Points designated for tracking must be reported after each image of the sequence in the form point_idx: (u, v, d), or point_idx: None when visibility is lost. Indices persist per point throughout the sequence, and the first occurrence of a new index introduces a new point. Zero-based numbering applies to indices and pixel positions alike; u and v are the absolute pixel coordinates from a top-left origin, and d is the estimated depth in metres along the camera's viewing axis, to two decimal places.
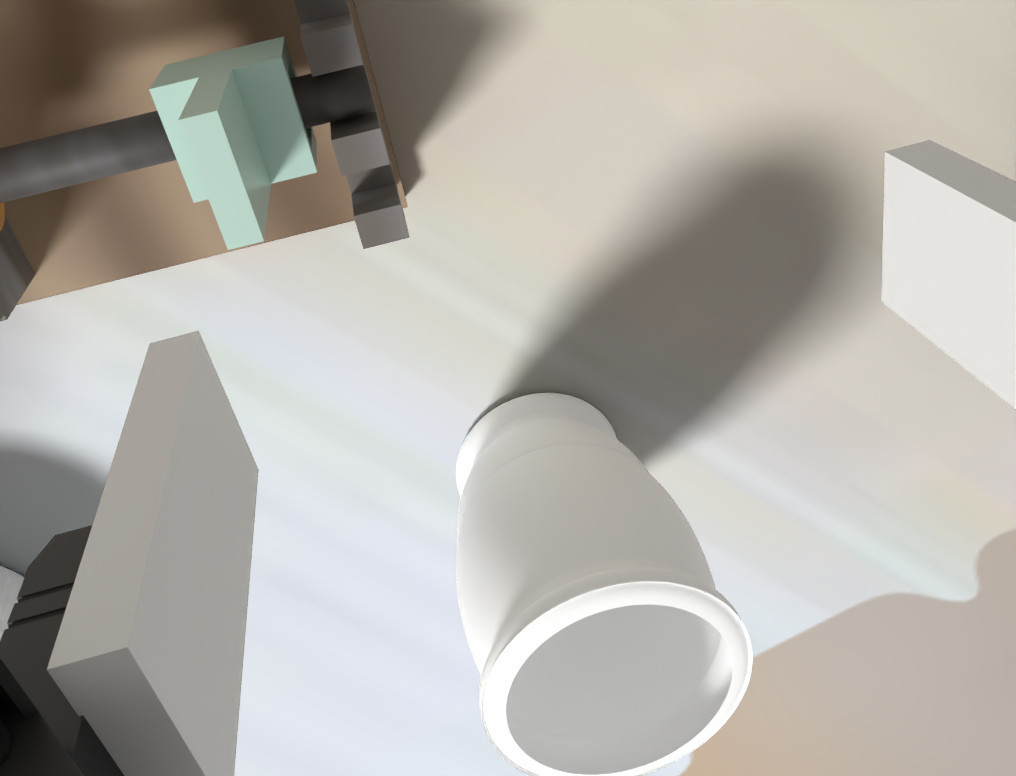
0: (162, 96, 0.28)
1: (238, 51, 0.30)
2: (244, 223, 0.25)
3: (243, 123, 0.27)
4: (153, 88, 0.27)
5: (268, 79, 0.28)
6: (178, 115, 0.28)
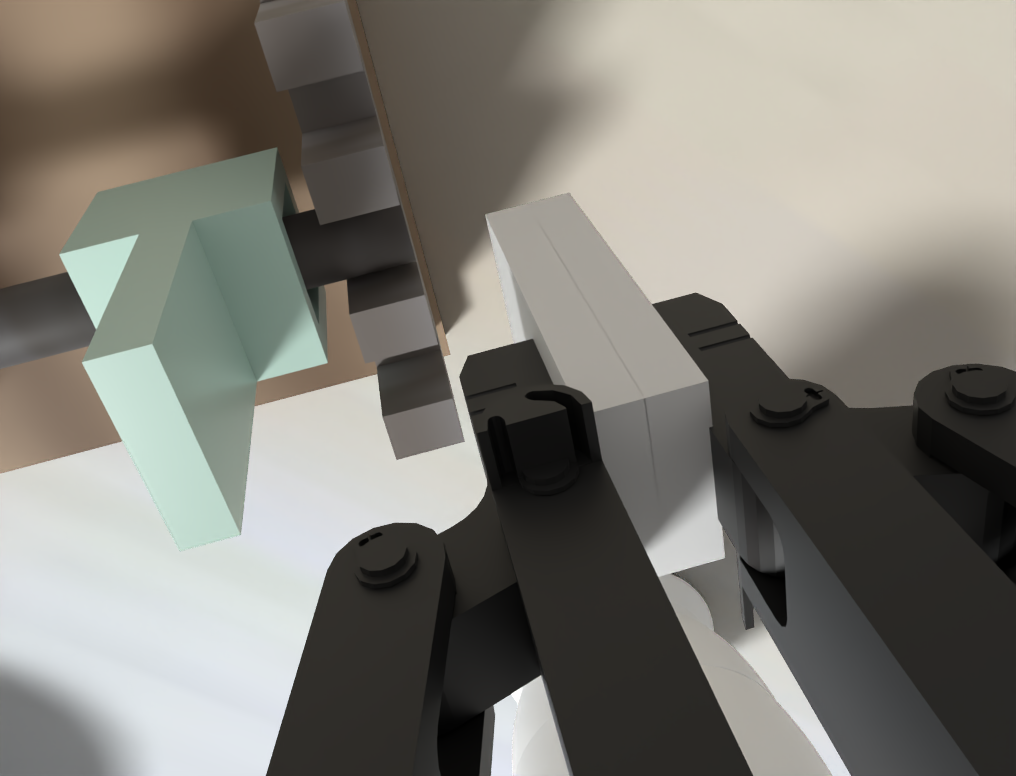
0: (81, 264, 0.17)
1: (206, 175, 0.20)
2: (206, 512, 0.15)
3: (209, 313, 0.17)
4: (66, 252, 0.17)
5: (250, 233, 0.18)
6: (108, 291, 0.18)
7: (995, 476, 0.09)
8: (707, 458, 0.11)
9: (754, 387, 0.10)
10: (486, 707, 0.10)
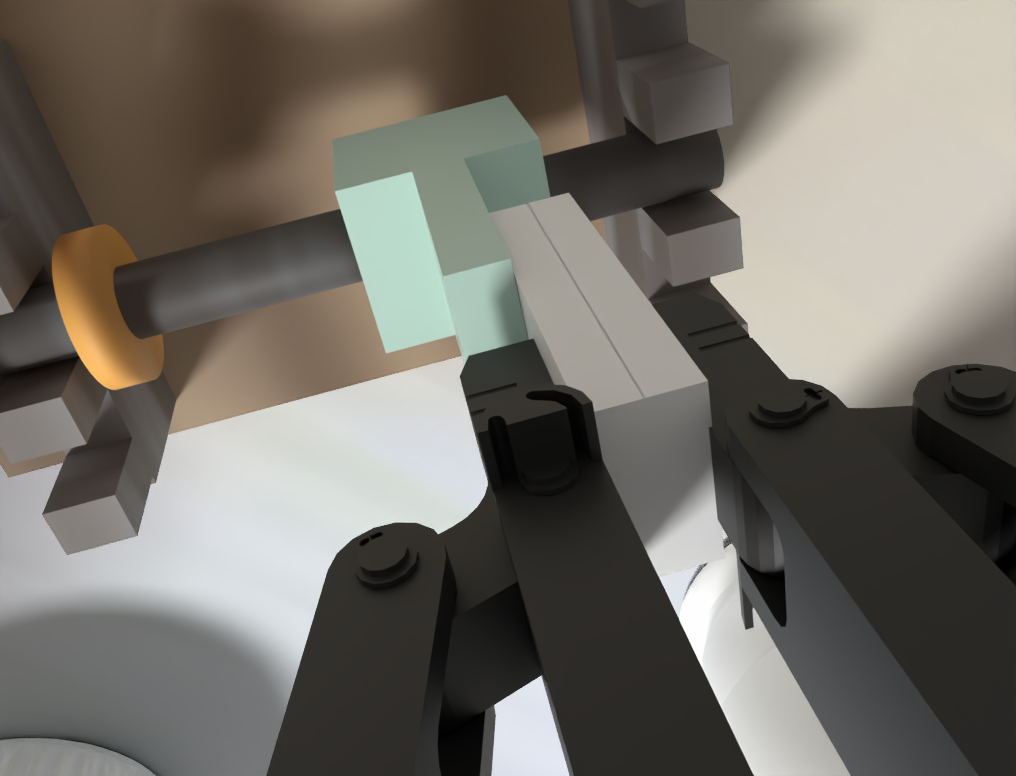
0: (354, 201, 0.18)
1: (446, 120, 0.20)
2: None
3: None
4: (341, 189, 0.17)
5: (516, 171, 0.18)
6: (376, 229, 0.18)
7: (994, 476, 0.09)
8: (707, 458, 0.11)
9: (754, 387, 0.10)
10: (486, 706, 0.10)
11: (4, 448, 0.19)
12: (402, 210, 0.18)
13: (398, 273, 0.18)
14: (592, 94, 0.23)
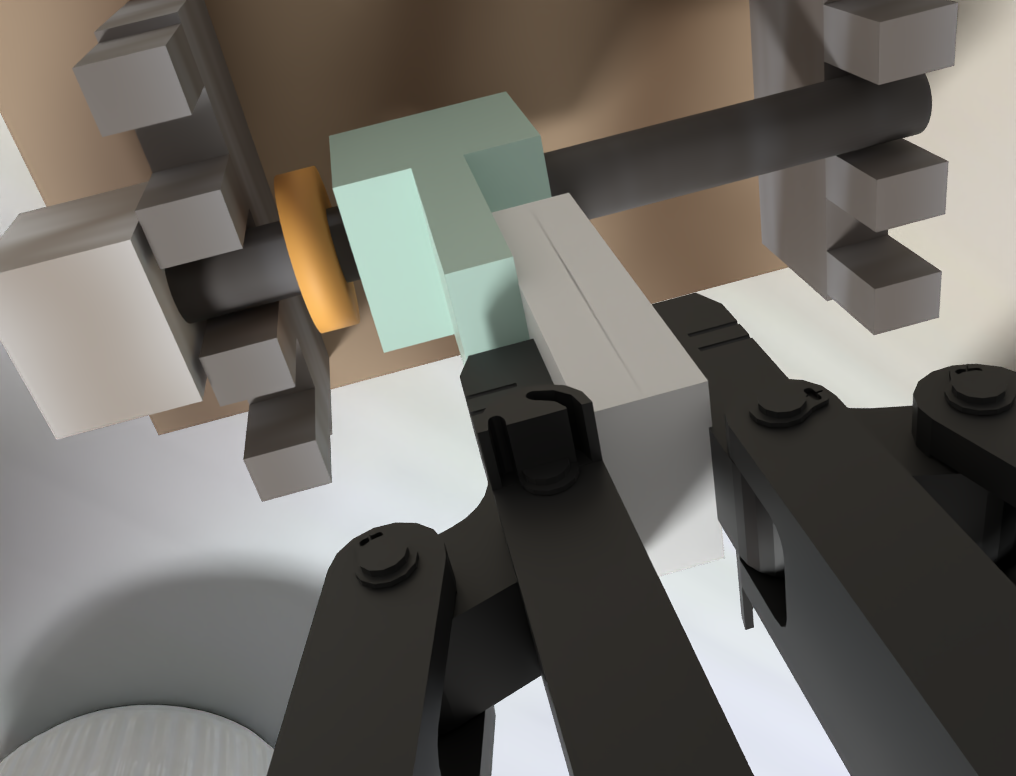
0: (352, 198, 0.17)
1: (444, 117, 0.20)
2: None
3: None
4: (339, 186, 0.17)
5: (516, 169, 0.18)
6: (374, 226, 0.18)
7: (994, 477, 0.09)
8: (706, 458, 0.11)
9: (754, 387, 0.10)
10: (486, 706, 0.10)
11: (214, 390, 0.19)
12: (401, 207, 0.18)
13: (396, 271, 0.18)
14: (770, 46, 0.23)
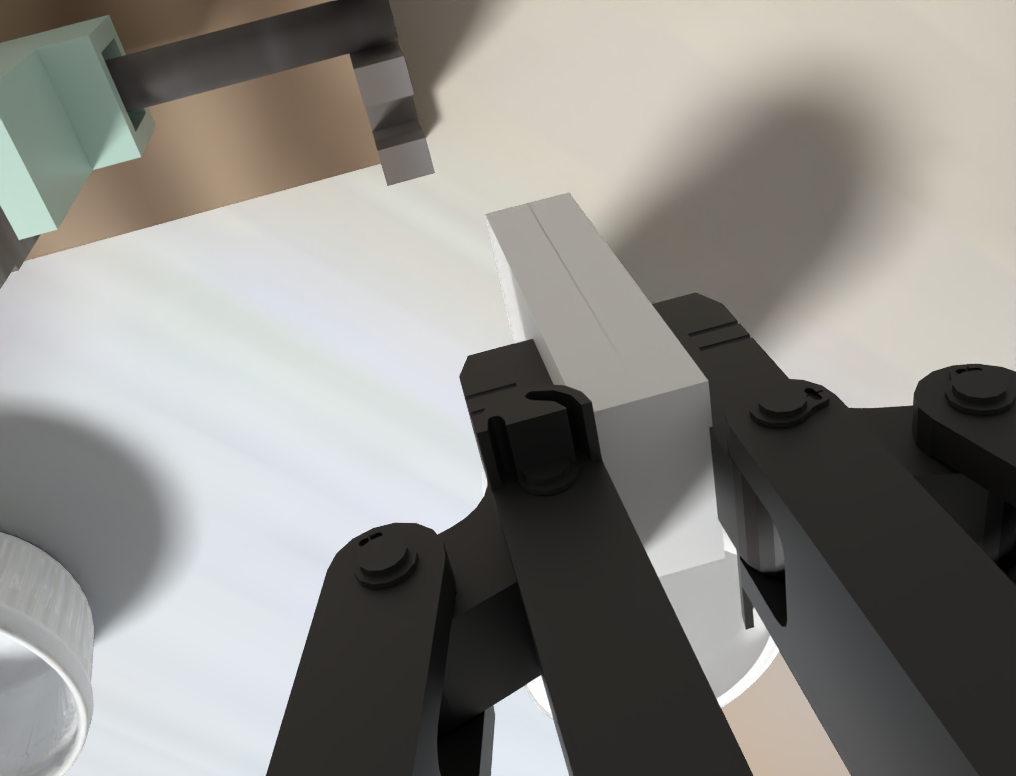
0: None
1: (56, 31, 0.28)
2: (33, 211, 0.23)
3: (45, 106, 0.26)
4: None
5: (76, 59, 0.26)
6: None
7: (995, 476, 0.09)
8: (707, 458, 0.11)
9: (754, 387, 0.10)
10: (486, 707, 0.10)
11: None
12: None
13: None
14: None
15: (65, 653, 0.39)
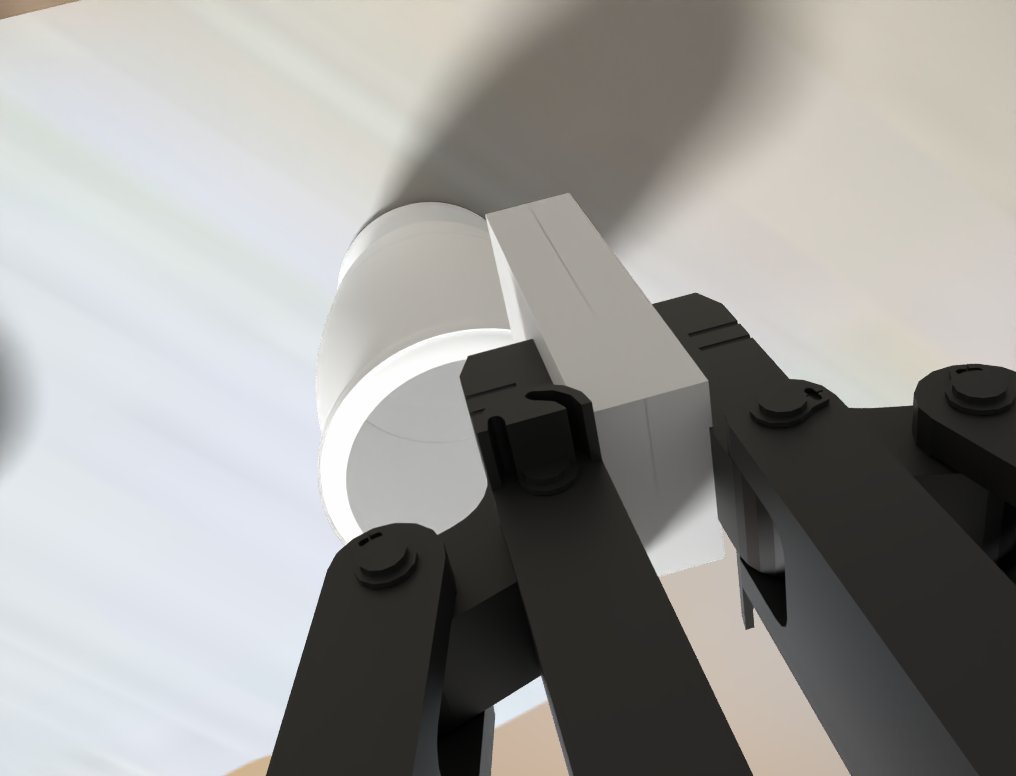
0: None
1: None
2: None
3: None
4: None
5: None
6: None
7: (994, 476, 0.09)
8: (707, 458, 0.11)
9: (754, 387, 0.10)
10: (486, 706, 0.10)
11: None
12: None
13: None
14: None
15: None
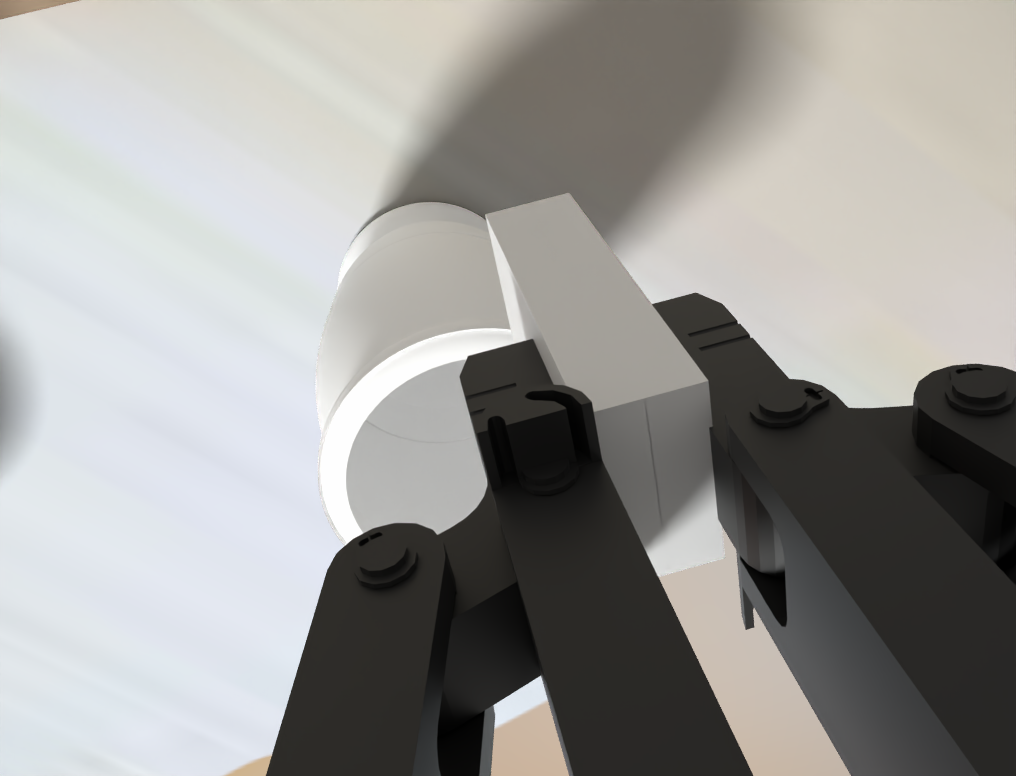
0: None
1: None
2: None
3: None
4: None
5: None
6: None
7: (995, 476, 0.09)
8: (707, 458, 0.11)
9: (754, 387, 0.10)
10: (486, 706, 0.10)
11: None
12: None
13: None
14: None
15: None
